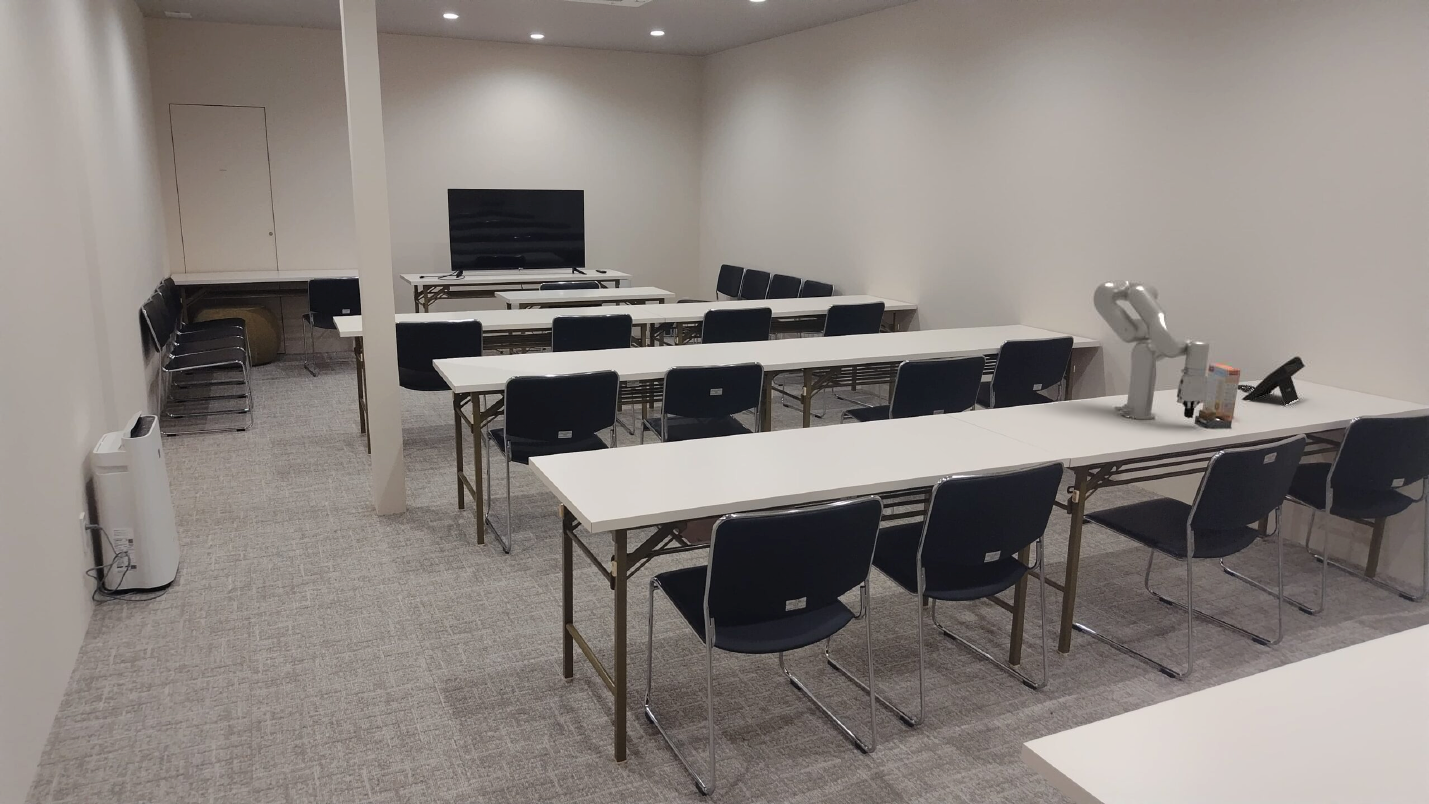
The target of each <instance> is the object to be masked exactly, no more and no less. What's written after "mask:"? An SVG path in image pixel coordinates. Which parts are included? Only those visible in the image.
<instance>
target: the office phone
mask: <svg viewBox="0 0 1429 804" xmlns="http://www.w3.org/2000/svg"><path fill="white" fill-rule="evenodd" d="M1305 367H1306V366H1305V364H1304V363H1303V360H1302V358H1301V357H1300V356H1294V357H1292V358H1291V359H1289V360H1288V361H1287V362H1285V363H1283V364H1282V365H1281V366H1279V367H1278V368H1277V369H1275V370H1273V371H1272V372H1271V373H1269V374H1268V375H1267V376H1266V377H1265V378H1263V379H1262V381H1260V382H1259V383H1258V384H1257V385H1256V386H1254V385H1253V386H1252V385H1249V384H1248V385H1247V384H1246V385H1245V384H1238V388H1239V389H1241V391H1242V392H1244V391H1246V392H1245V393H1247V392H1248V393H1247V394H1245V396H1244V397H1243V398H1242V399H1243V401H1247V400H1251V401H1254V400H1256V399H1259V398H1261V396H1262V397H1264V396H1263V395H1265V396H1267V395H1269V394H1268V393H1273V394H1272V395H1275V392H1274V391H1275V390H1276V389H1277V388H1279V391H1280V392H1279V393H1280V394H1281V398H1282V400H1283V401H1282V402H1283V403H1284V406H1285V405H1286V404H1289V403H1290V402H1292V401H1294V400H1297V399H1299V396H1298V394H1297V390H1296V388H1295V383H1294V381H1293V378H1292V377H1293V376H1294V375H1295V374H1296V373H1298V372H1299V371H1300V370H1301V371H1302V369H1303V368H1305ZM1242 387H1245V388H1242ZM1246 387H1250V388H1253V389H1254V390H1253V389H1250V388H1246ZM1239 389H1238V390H1239ZM1266 394H1267V395H1266ZM1258 397H1259V398H1258ZM1255 398H1256V399H1255ZM1253 399H1254V400H1253Z"/></svg>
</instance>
